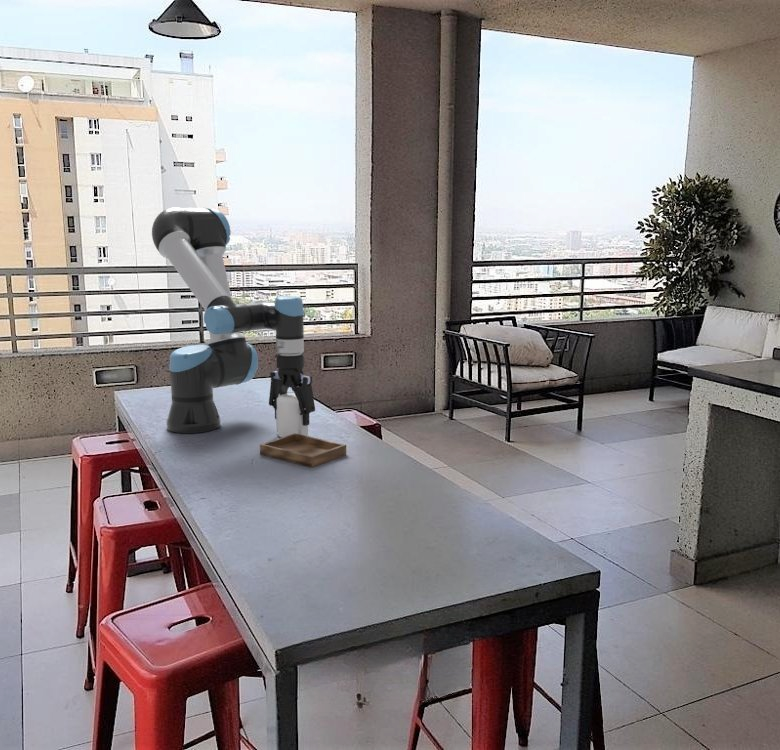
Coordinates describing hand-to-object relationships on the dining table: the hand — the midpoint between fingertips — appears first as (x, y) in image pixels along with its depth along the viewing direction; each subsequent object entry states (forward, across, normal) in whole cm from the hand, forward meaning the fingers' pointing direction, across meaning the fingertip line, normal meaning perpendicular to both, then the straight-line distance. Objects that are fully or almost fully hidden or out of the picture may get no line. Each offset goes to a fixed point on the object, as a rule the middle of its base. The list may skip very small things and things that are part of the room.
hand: (292, 433), depth 207 cm
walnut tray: (+1, +14, -10) cm, 18 cm away
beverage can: (+1, 0, 0) cm, 1 cm away
